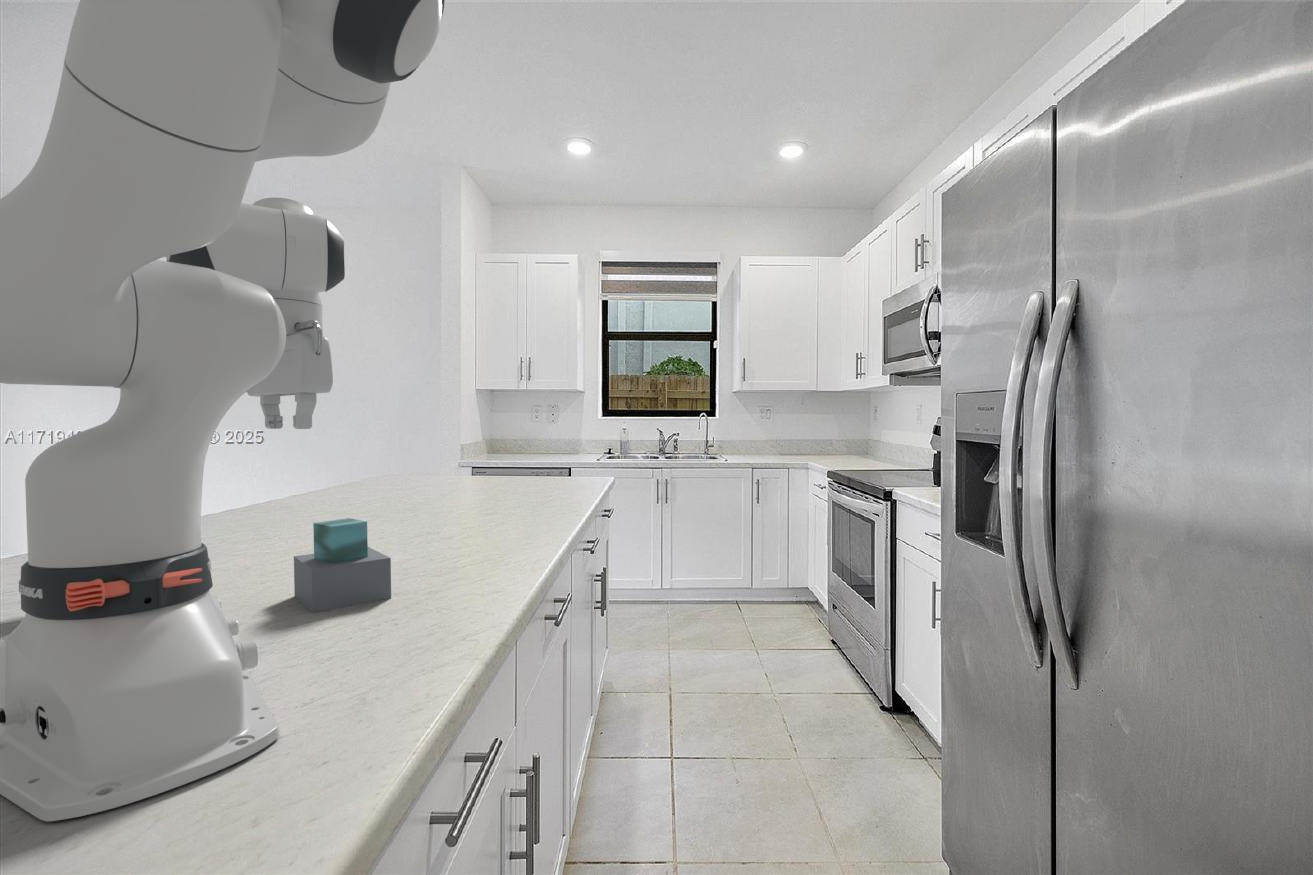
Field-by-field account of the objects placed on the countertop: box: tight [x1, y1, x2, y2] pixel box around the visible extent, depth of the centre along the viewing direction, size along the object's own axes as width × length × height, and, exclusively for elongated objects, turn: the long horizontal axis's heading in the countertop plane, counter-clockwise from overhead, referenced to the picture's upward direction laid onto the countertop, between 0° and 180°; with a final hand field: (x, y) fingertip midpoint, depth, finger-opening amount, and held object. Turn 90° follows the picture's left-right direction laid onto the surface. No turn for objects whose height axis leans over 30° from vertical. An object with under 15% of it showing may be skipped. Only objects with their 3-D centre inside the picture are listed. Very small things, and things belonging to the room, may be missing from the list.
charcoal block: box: [293, 546, 392, 614], centre depth 90 cm, size 10×10×6 cm
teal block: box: [312, 517, 369, 563], centre depth 89 cm, size 5×5×5 cm
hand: (287, 428), depth 86 cm, fingers open, 8 cm apart
